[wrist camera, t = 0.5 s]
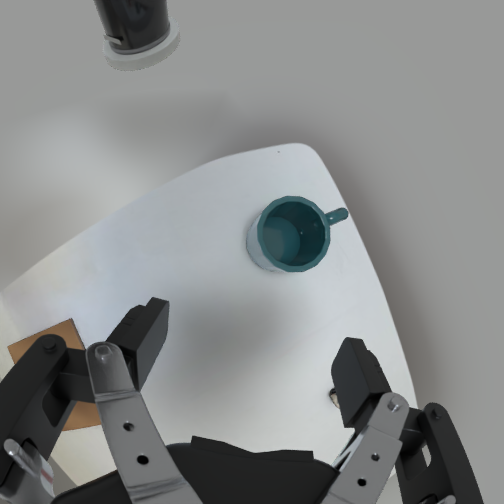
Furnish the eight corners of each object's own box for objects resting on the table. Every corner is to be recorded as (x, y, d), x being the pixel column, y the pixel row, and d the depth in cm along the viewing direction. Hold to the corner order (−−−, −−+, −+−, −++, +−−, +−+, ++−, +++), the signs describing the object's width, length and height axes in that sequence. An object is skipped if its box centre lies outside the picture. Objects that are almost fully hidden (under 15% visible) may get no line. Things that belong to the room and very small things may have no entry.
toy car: (358, 387, 31) (365, 393, 29) (334, 406, 30) (340, 412, 28) (351, 374, 31) (358, 379, 29) (325, 393, 30) (331, 399, 28)
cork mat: (9, 345, 25) (7, 346, 24) (71, 318, 27) (69, 319, 26) (54, 430, 25) (52, 432, 24) (123, 417, 27) (122, 419, 26)
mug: (259, 280, 30) (275, 284, 22) (237, 226, 30) (244, 211, 22) (333, 247, 32) (367, 241, 24) (312, 197, 32) (340, 176, 24)
